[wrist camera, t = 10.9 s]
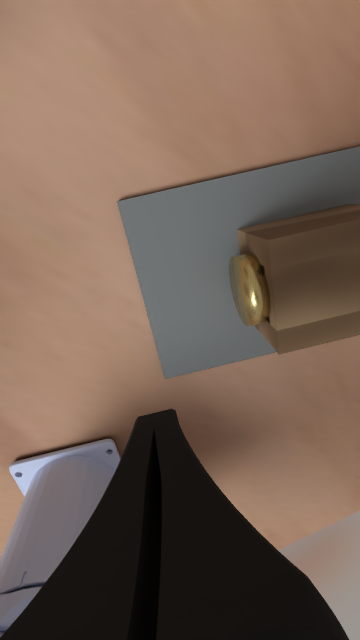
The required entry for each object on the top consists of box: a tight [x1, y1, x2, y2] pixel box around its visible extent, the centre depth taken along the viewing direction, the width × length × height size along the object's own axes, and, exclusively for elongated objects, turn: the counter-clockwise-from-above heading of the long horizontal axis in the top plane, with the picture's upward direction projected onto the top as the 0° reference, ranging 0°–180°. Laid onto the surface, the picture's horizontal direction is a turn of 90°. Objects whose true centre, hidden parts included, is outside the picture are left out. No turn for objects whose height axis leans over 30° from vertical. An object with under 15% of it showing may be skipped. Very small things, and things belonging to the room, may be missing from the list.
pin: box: [229, 253, 271, 326], centre depth 17 cm, size 4×12×4 cm, turn 102°
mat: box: [117, 146, 360, 379], centre depth 20 cm, size 12×19×1 cm, turn 102°
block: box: [237, 204, 360, 354], centre depth 17 cm, size 6×7×5 cm
